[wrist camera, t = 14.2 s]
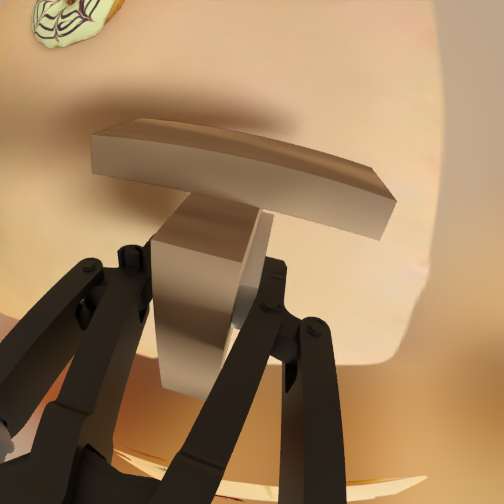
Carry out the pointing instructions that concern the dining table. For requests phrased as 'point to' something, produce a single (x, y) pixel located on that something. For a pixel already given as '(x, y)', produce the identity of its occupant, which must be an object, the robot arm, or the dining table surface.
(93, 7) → the decorated donut
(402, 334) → the dining table surface
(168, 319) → the pusher
